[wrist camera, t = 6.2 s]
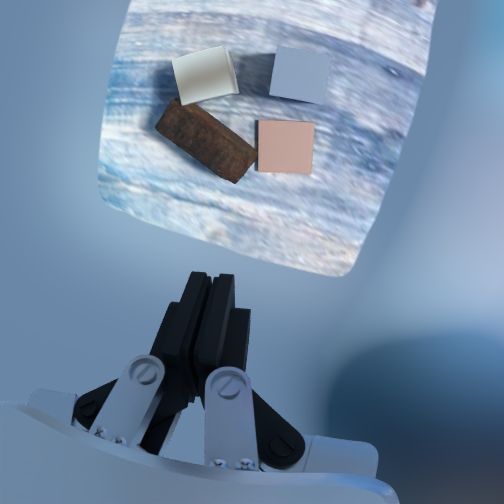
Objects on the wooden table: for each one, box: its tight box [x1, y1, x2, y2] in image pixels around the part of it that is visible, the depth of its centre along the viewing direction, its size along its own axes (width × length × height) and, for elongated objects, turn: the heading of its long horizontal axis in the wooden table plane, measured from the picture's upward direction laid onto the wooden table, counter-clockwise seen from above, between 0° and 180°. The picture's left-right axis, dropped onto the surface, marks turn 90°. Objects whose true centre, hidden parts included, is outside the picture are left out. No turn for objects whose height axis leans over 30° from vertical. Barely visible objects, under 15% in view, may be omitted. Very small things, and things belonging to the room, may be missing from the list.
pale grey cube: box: [172, 45, 240, 105], centre depth 23 cm, size 5×5×5 cm
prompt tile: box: [258, 120, 314, 174], centre depth 29 cm, size 6×6×1 cm
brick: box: [155, 98, 258, 184], centre depth 27 cm, size 11×4×5 cm, turn 51°
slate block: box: [269, 46, 332, 105], centre depth 23 cm, size 5×5×5 cm
